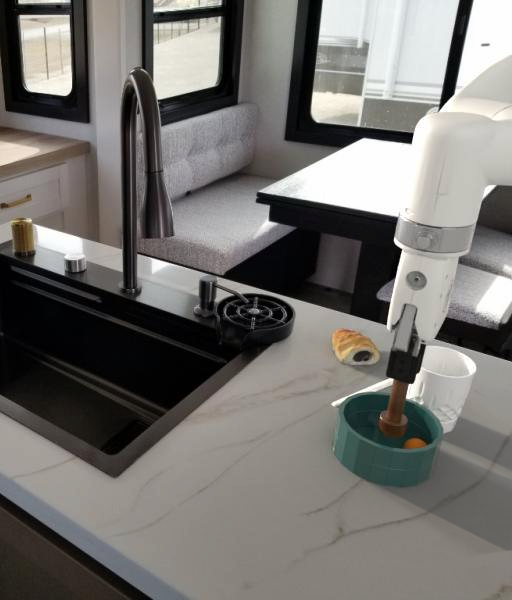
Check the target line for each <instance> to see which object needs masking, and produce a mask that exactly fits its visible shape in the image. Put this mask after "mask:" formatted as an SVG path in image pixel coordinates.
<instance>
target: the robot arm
mask: <svg viewBox="0 0 512 600" xmlns="http://www.w3.org/2000/svg"><path fill="white" fill-rule="evenodd" d="M489 186H508V187H509V186H510V187H512V53H510V54H508V55H506V56H504V57H502V58H500V59H498V60H496V61H495V62H493V63H491V64H490V65H488V66H487V67H485V68H484V69H483V70H482V71H481V72H479V73H478V74H477V75H475V76H474V77H472V79H471V80H469V81H468V82H467V83H465V85H463V87H462V88H460V89H459V90H458V91H457V92H455V94H454V95H452V97H450V98H449V99H448V100H447V102H446V103H444V105H443V106H442V107H441V109H440V110H439V111H437V112H433V113H432V112H431V113H428V114H426V115H425V116H423V117H421V118H420V119H419V121H418V122H417V124H416V125H415V127H414V132H413V137H412V142H411V147H410V153H409V158H408V163H407V168H406V175H405V179H404V185H403V190H402V195H401V201H400V206H399V212H398V215H397V216H398V217H397V221H396V226H395V233H394V238H393V242H394V244H395V245H396V246H397V247H398V248H400V249H402V250H401V254H400V258H399V262H398V266H397V271H396V276H395V281H394V285H393V289H392V294H391V300H390V304H389V310H388V316H387V322H386V329H387V331H388V332H389V333H390V334H392V333H393V332H394V336H393V340H392V346H391V348H390V352H389V357H388V362H387V367H386V370H385V371H386V372H385V376H386V378H387V379H389V378H392V379H395V380H398V381H402V382H405V383H408V384H413V383H414V382H415V379H416V375H417V374H418V373H419V372H420V370H421V366H422V361H423V357H424V353H425V348H426V346H427V344H428V343H430V342H433V341H434V340H435V338H436V337H437V335H438V333H439V331H440V329H441V328H442V325H443V324H444V321H445V320H446V318H447V315H448V312H449V309H450V305H451V304H450V303H451V298H452V293H453V289H454V284H455V279H456V274H457V271H458V264H459V260H460V259H459V258H460V257H463V256H466V255H467V254H469V253H470V250H471V246H472V243H473V239H474V234H475V231H476V226H477V221H478V219H479V214H480V212H481V211H480V210H481V207H482V206H481V205H482V202H483V199H484V194H485V190H486V188H487V187H489ZM410 337H411V338H415V343H414V341H413V340H410ZM425 343H427V344H425Z"/></svg>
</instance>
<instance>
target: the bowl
mask: <svg viewBox="0 0 512 600" xmlns="http://www.w3.org/2000/svg"><path fill="white" fill-rule="evenodd" d="M353 394H354V393H353ZM390 394H391V392H384V391H383V392H382V391H376V392H362V393H357V394H354V395H352V396H349V395H348V396H349V397H347V396H346V397H347V398H346V399H345V400H344V401H343V402H342V403H341V404H340V405H339V406H338V407H339V408H338V410H337V415H336V420H335V428H334V432H333V438H332V444H331V445H332V449H333V453H334V456H335V457H336V458H337V460H338V461H339V462H340V464H342V466H343V467H344V468H346V470H348V471H349V472H350V473H352V474H354V475H356V476H357V477H359V478H361V479H363V480H365V481H368V482H370V483H373V484H377V485H380V486H384V487H390V488H391V487H392V488H409V487H415V486H418V485H421V484H423V483H425V482H427V481H428V480H429V479H430V478H431V477H432V475H433V474H434V472H435V468H436V464H437V461H438V457H439V454H440V451H441V447H442V444H443V440H444V433H443V432H444V429H443V427H442V425H441V423H440V420H439V419H438V418H437V417H436V416H435V415H434V414H433V413H432V412H431V411H430V410H429V409H427V408H425V407H424V406H422V405H421V404H419V403H417V402H415V401H413V400H410V399H408V398H406V401H405V406H404V410H403V414H404V415H405V416H406V418H407V420H408V422H407V426H406V431H405V434H404V436H402V437H400V438H390V437H387V436H385V435H383V434H382V433H380V431H379V430H378V423H379V418H380V414H381V413H382V412H383V411H386V410H387V409H388V404H389V399H390ZM412 438H417V439H420V440H422V441H424V442H425V443H426V444H427V446H425V447H422V448H415V449H403V445H404V444H405V442H406V441H407V440H409V439H412Z"/></svg>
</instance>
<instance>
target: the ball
mask: <svg viewBox="0 0 512 600" xmlns="http://www.w3.org/2000/svg"><path fill="white" fill-rule="evenodd" d="M425 446H427V444H426V443H425V442H424V441H422V440H420V439H417V438H412V439H409V440H407V441H406V442H405V444H404V445H403V449H415V448H422V447H425Z"/></svg>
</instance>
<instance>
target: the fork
mask: <svg viewBox="0 0 512 600" xmlns="http://www.w3.org/2000/svg"><path fill="white" fill-rule="evenodd" d="M392 384H393V379H392V378H387V379H384V380H382V381H379V382H377V383H375V384H372V385H370V386H368V387H365V388H363V389H361V390H358V391H356V392H354V393H352V394H350V395H347V396H344V397H342V398H339V399H337V400H335V401H333V402H332V403H331V406H333V408H337V407H340V404H341V403H342V402H343V401H344V400H345V399H346V398H347V397H349V396H352V395H354V394H357V393H362V392H379V391H381V390H383V389H385V388H388V387H392Z"/></svg>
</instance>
